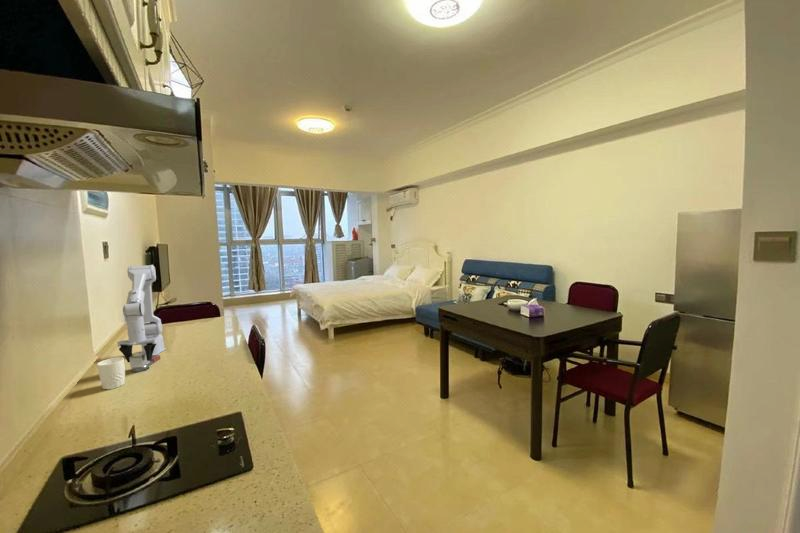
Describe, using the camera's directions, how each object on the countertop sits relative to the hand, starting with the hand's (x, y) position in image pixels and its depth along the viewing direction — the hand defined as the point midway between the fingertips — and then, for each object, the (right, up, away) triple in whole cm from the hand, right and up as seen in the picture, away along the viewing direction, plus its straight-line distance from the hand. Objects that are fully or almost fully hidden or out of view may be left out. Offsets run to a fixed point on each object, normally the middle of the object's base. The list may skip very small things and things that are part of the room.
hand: (139, 360), depth 142 cm
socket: (0, -2, 0) cm, 2 cm away
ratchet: (-1, -4, +5) cm, 6 cm away
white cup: (+1, -6, -14) cm, 16 cm away
